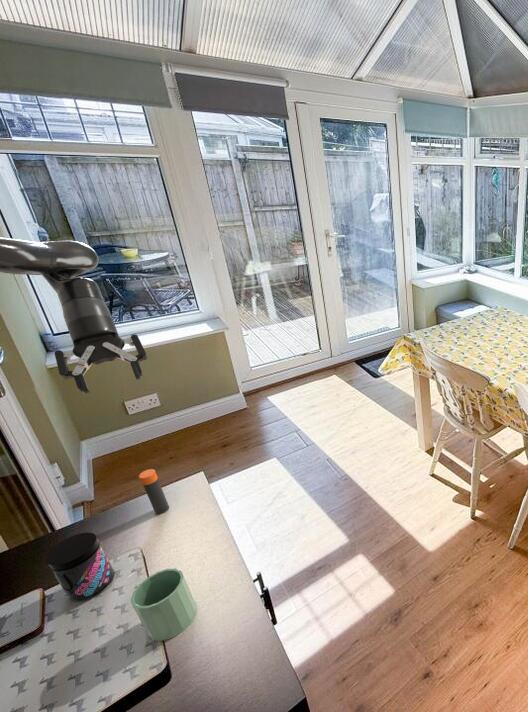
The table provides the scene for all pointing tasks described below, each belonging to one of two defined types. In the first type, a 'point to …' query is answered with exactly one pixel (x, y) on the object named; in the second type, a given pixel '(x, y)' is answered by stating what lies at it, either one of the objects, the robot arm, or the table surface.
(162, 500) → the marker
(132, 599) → the tumbler
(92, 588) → the supplement container
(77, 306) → the robot arm
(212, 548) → the table surface
